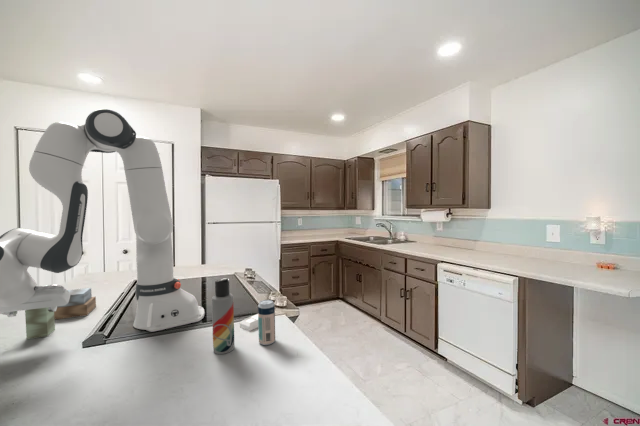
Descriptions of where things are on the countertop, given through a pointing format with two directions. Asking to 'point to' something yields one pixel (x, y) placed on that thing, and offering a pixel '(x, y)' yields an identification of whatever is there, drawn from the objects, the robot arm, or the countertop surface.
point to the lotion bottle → (223, 317)
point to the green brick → (39, 322)
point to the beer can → (266, 322)
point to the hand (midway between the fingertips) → (34, 312)
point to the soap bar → (249, 323)
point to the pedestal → (76, 304)
